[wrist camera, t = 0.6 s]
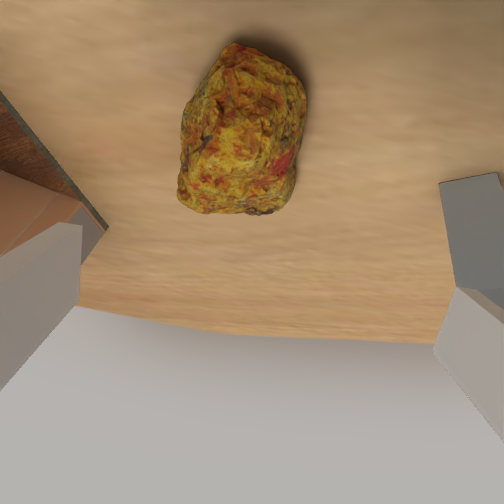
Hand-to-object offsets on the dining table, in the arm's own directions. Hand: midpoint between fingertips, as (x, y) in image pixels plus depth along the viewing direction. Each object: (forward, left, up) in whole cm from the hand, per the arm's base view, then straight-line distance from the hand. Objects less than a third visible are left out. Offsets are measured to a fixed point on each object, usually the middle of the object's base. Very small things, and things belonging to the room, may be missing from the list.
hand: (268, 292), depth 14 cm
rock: (+5, -3, -17) cm, 18 cm away
